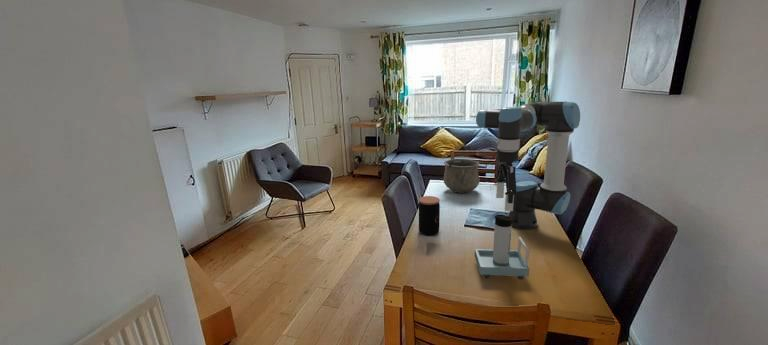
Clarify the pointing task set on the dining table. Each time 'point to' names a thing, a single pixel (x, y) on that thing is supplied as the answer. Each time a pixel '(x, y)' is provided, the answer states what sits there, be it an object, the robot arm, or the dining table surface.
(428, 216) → the coffee jar
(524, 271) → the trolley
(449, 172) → the pot
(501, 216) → the travel mug
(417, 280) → the dining table surface
